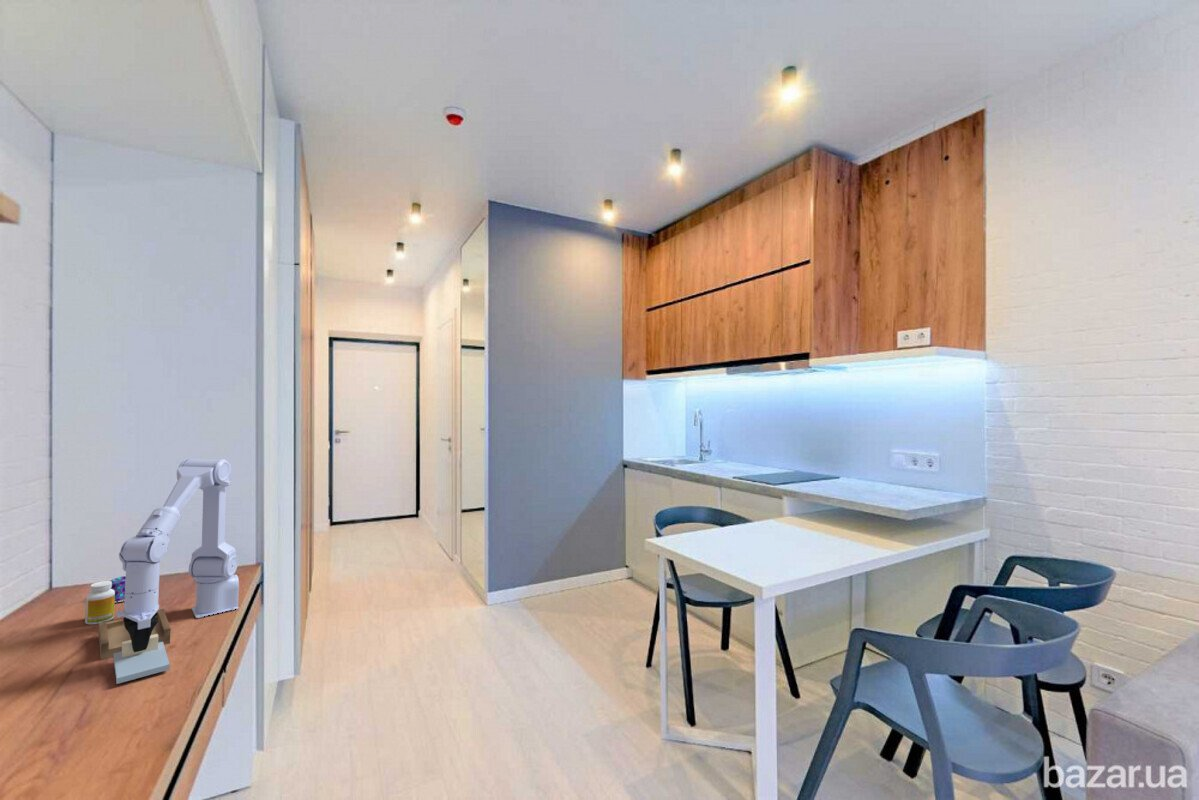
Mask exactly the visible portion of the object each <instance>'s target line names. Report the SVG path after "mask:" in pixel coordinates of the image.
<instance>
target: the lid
mask: <svg viewBox="0 0 1199 800" xmlns="http://www.w3.org/2000/svg"><path fill="white" fill-rule="evenodd" d="M112 658H113V665H114V674H115V681H116V685H117V684H122V683H126V682H129V681H133V680H136V679H140V678H143V677H147V676H151V675H154V674H158V673H159V674H160V673H162V672H165V671H170V661H169V660H170V659H169V657H168V654H167V651H166V647H165V644H164V643H163V642H159V643H158V634H154V635H151V636H150V639H149V643H148V646H147V648H146V650H142V651H138V652H134V651H133V648H132V642H131V640H128V641H124V642H122V652H118V653H114V657H112Z"/></svg>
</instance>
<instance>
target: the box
mask: <svg viewBox="0 0 1199 800" xmlns="http://www.w3.org/2000/svg"><path fill="white" fill-rule="evenodd" d="M156 617H158V619H159V620H158V622H157V624H156V625H155V627H154V629H153V631H152V633H151V635H154V634H158V643H159V642H163V643H164V645H167V644H171V629H172V628H171V626H170V623H169V621H168V617H167V615H166V611H165V610H164V608H162V609H159V610H158V611H157V615H156V616H155V618H156ZM124 623H125V622H124V621H123V618H121V619H117V620H116V619H115V620H112V621H111V620H110V621H107V622H106V621H103V622H99V624H98V645H99V656H100V657H99V658H100V661H103V660H106V659H107V660H108V659H111V658H114V653H118V652H122V642H124V641H128V640H131V637H130V634H129V633H128V631H127V630H126V628H125V626H124Z"/></svg>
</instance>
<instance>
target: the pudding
mask: <svg viewBox="0 0 1199 800" xmlns="http://www.w3.org/2000/svg"><path fill="white" fill-rule="evenodd" d="M125 580H126V575H125V576H124V575H123V576H119V577H114V578H113V579H111V580H110V581H111V582H112V587H111V588H110V589H113V590H114V591H115V602H116V601H118V602H117V603H120V602H125V600H124V601H123V599H125ZM120 600H122V601H120Z"/></svg>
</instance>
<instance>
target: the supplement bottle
mask: <svg viewBox="0 0 1199 800" xmlns="http://www.w3.org/2000/svg"><path fill="white" fill-rule="evenodd" d="M111 587H112V582H111V580H103V581H97V582H94V583H92V584H90V588H89V591H90V592H89V593H87V595H86V598H85V610H84V611H85V613H84V623H85V624H86V625H89V626H90V625H99V622H103V621H106V622H111V620H113V619H114V617H115V603H116V601H115V591H114V590H113V589H110V588H111Z"/></svg>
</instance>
